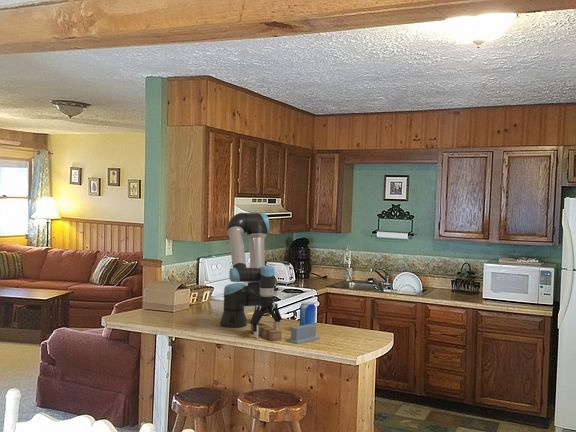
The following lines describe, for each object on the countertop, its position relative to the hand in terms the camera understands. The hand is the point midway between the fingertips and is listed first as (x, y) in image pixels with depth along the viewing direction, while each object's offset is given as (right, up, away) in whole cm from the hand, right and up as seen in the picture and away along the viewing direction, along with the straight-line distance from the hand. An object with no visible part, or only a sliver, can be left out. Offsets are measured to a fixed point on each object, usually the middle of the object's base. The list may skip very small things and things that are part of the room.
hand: (265, 335), depth 311 cm
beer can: (+22, 0, +12) cm, 25 cm away
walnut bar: (0, 0, 0) cm, 0 cm away
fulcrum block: (+20, -1, -7) cm, 21 cm away
